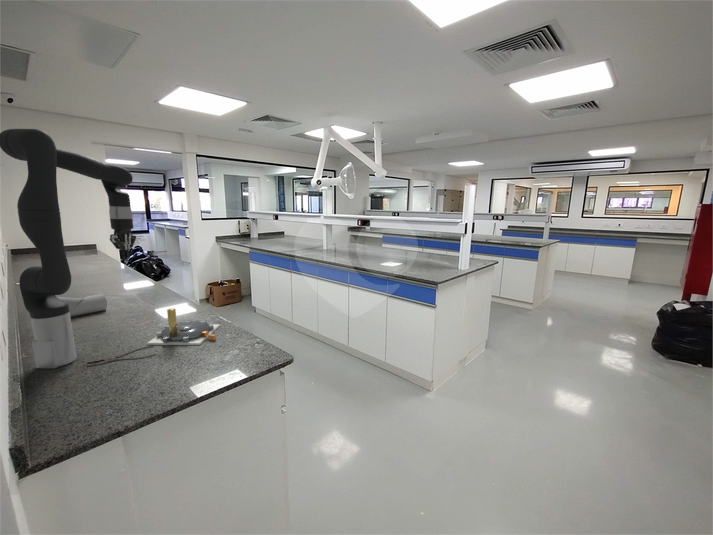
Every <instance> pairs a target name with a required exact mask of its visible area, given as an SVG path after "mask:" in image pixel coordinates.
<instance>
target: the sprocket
mask: <svg viewBox="0 0 713 535" xmlns="http://www.w3.org/2000/svg"><path fill="white" fill-rule="evenodd" d="M176 311H177V310H176V308H169V309H167V310H166V312H167V322H168V324H167V325H165V326H164V328H163V329H162V330H161V331H156V337H162V339H163V342H169V341H184V342H188V341H189V340H191V339H195V338H198V337H201V336H207V335H208V332H209V331H210V330H211V329H214V326H213V325H209V323H207V320H205V319H204V320H201V321H198V320H194V321H190V320H184V321H183V322H179V323H178V321H177V312H176Z"/></svg>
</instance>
